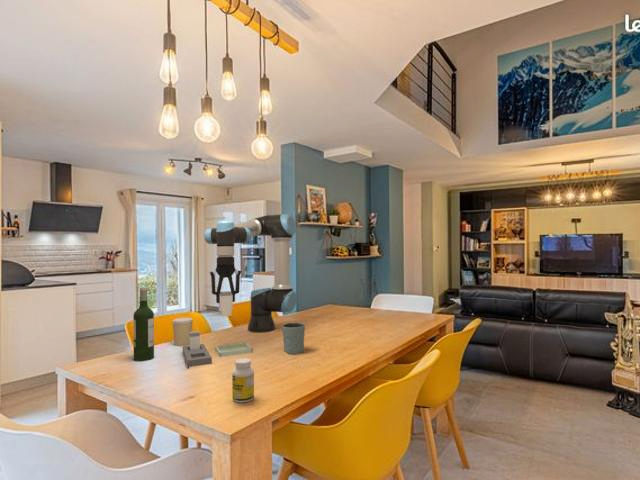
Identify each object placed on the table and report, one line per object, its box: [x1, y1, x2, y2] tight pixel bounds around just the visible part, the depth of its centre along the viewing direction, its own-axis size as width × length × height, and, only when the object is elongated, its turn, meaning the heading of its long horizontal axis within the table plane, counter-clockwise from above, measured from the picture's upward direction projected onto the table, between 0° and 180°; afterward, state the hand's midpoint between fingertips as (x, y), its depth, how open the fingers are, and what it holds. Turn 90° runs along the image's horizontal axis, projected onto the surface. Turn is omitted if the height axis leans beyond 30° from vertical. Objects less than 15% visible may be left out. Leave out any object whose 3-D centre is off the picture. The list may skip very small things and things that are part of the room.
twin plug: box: [188, 330, 201, 350], centre depth 162 cm, size 4×4×10 cm
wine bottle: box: [132, 286, 155, 362], centre depth 158 cm, size 8×8×30 cm
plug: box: [219, 290, 232, 317], centre depth 162 cm, size 4×4×10 cm
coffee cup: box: [172, 317, 194, 347], centre depth 181 cm, size 9×9×12 cm
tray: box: [214, 341, 253, 358], centre depth 165 cm, size 14×12×2 cm
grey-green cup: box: [281, 322, 306, 356], centre depth 164 cm, size 10×10×12 cm
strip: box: [182, 343, 213, 369], centre depth 156 cm, size 9×24×4 cm, turn 25°
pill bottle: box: [231, 357, 255, 403], centre depth 113 cm, size 6×6×12 cm
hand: (225, 310), depth 162 cm, fingers closed on plug, 4 cm apart
